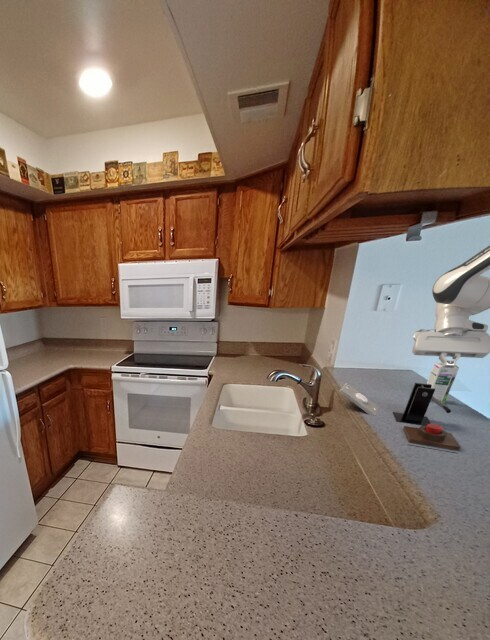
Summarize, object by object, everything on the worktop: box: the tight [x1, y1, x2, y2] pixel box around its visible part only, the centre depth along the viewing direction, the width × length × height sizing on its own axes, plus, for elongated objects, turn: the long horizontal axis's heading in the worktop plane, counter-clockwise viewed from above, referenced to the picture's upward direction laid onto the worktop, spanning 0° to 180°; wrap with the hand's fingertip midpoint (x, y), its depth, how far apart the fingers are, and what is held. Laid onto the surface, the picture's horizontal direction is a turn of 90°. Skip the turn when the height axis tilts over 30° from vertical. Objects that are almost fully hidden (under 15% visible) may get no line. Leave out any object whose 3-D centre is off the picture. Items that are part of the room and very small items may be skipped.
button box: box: [402, 425, 461, 454], centre depth 97 cm, size 12×9×4 cm
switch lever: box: [415, 385, 452, 414], centre depth 105 cm, size 11×5×2 cm
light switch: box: [339, 382, 381, 417], centre depth 118 cm, size 8×6×14 cm
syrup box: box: [426, 362, 460, 404], centre depth 122 cm, size 6×6×14 cm
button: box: [425, 423, 443, 434], centre depth 96 cm, size 4×4×2 cm
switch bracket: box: [392, 382, 435, 426], centre depth 107 cm, size 10×8×13 cm
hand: (449, 366), depth 108 cm, fingers closed
